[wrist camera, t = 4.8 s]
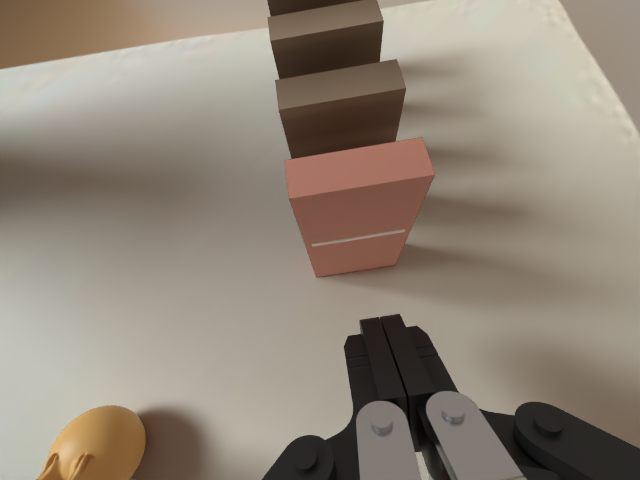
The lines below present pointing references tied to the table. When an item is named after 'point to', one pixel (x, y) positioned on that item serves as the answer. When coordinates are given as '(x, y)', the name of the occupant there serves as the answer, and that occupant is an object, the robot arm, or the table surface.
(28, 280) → the table surface
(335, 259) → the domino
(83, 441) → the figurine
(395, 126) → the domino
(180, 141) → the table surface
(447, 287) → the table surface
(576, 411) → the table surface
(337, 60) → the domino
